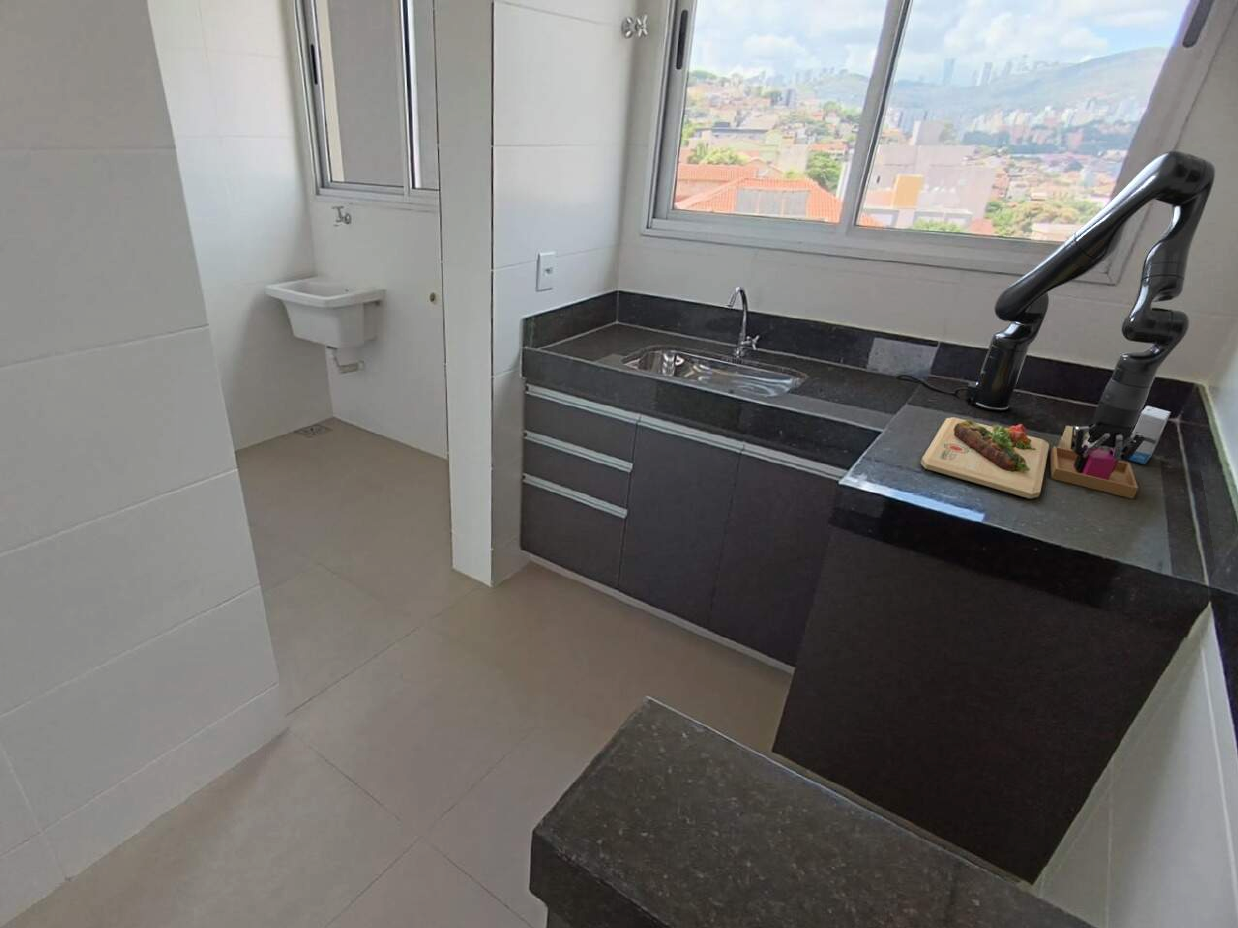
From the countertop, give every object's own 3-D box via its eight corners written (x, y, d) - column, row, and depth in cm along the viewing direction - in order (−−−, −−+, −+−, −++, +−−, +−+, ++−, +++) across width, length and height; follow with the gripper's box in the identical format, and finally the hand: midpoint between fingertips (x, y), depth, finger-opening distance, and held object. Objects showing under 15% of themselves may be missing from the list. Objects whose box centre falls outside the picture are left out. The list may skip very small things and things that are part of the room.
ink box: (1144, 465, 155) (1166, 420, 150) (1119, 458, 158) (1140, 413, 153) (1151, 455, 160) (1173, 411, 155) (1127, 448, 164) (1147, 404, 158)
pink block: (1084, 477, 146) (1092, 457, 144) (1073, 467, 150) (1082, 447, 148) (1108, 480, 145) (1117, 460, 143) (1097, 470, 150) (1106, 450, 147)
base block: (1067, 458, 156) (1077, 435, 153) (1057, 447, 161) (1066, 425, 159) (1094, 461, 155) (1105, 438, 153) (1083, 450, 161) (1092, 428, 158)
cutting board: (946, 421, 172) (954, 394, 169) (1047, 447, 161) (1058, 419, 158) (917, 468, 146) (927, 438, 142) (1036, 503, 135) (1049, 470, 131)
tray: (1051, 478, 146) (1055, 468, 144) (1049, 455, 157) (1053, 446, 156) (1133, 498, 139) (1138, 488, 138) (1125, 473, 151) (1130, 463, 149)
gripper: (1148, 399, 142) (1117, 469, 150) (1077, 392, 144) (1050, 461, 152) (1168, 412, 136) (1134, 484, 143) (1094, 404, 137) (1064, 476, 145)
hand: (1091, 472), depth 148 cm, fingers closed on pink block, 5 cm apart
